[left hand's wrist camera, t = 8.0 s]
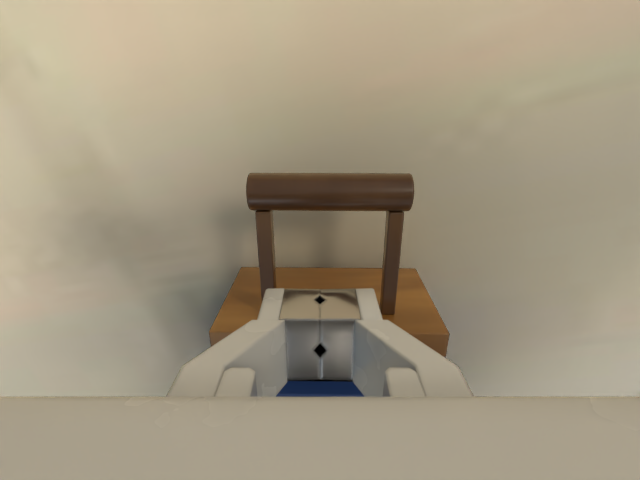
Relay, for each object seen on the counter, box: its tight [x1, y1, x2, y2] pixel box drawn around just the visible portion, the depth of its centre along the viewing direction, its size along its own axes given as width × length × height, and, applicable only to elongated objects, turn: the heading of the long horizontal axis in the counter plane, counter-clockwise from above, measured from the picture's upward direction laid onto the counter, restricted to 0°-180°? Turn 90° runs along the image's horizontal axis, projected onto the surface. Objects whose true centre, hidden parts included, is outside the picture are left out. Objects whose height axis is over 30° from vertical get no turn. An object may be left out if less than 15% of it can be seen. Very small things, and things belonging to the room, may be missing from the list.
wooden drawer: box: [209, 173, 449, 382], centre depth 18 cm, size 18×10×6 cm, turn 0°
